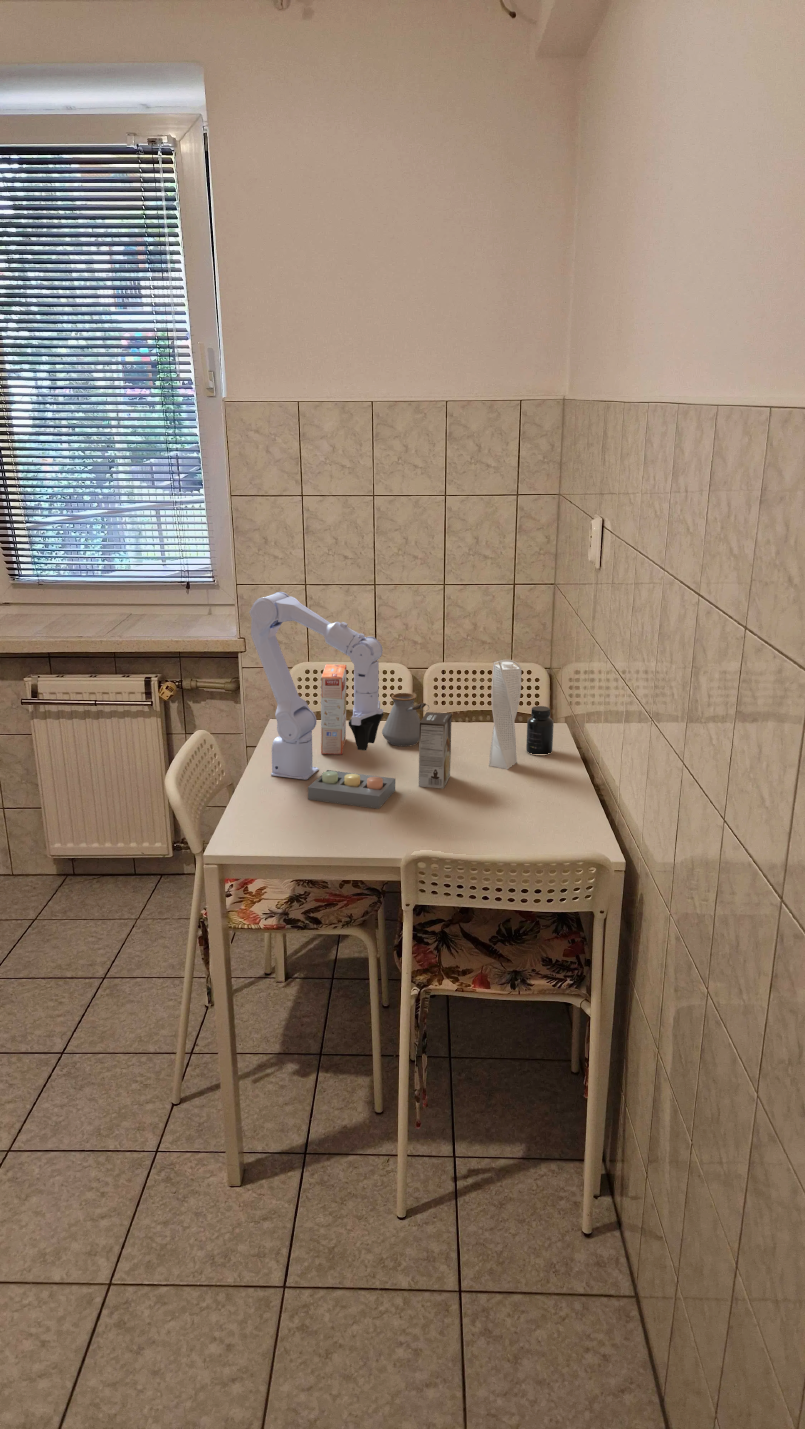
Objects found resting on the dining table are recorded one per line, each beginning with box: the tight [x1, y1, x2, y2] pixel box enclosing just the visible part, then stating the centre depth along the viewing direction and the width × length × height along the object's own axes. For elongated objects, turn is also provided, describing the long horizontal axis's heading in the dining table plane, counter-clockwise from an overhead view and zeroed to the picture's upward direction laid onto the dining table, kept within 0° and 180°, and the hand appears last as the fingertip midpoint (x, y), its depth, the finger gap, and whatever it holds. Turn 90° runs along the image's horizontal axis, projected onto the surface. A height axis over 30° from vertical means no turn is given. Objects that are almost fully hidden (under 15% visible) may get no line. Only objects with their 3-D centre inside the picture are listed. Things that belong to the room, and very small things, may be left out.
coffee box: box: [418, 711, 453, 789], centre depth 238 cm, size 9×6×16 cm
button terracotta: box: [367, 776, 383, 790], centre depth 228 cm, size 4×4×3 cm
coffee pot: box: [381, 692, 430, 747], centre depth 262 cm, size 21×12×15 cm, turn 20°
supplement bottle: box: [525, 705, 554, 754], centre depth 260 cm, size 7×7×12 cm
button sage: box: [321, 770, 338, 784], centre depth 231 cm, size 4×4×3 cm
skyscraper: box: [488, 658, 522, 770], centre depth 248 cm, size 8×8×28 cm
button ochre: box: [344, 773, 360, 787], centre depth 230 cm, size 4×4×3 cm
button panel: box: [307, 769, 396, 810], centre depth 230 cm, size 17×12×3 cm
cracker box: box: [320, 663, 347, 756], centre depth 261 cm, size 14×6×21 cm, turn 179°
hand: (366, 746), depth 235 cm, fingers open, 5 cm apart
